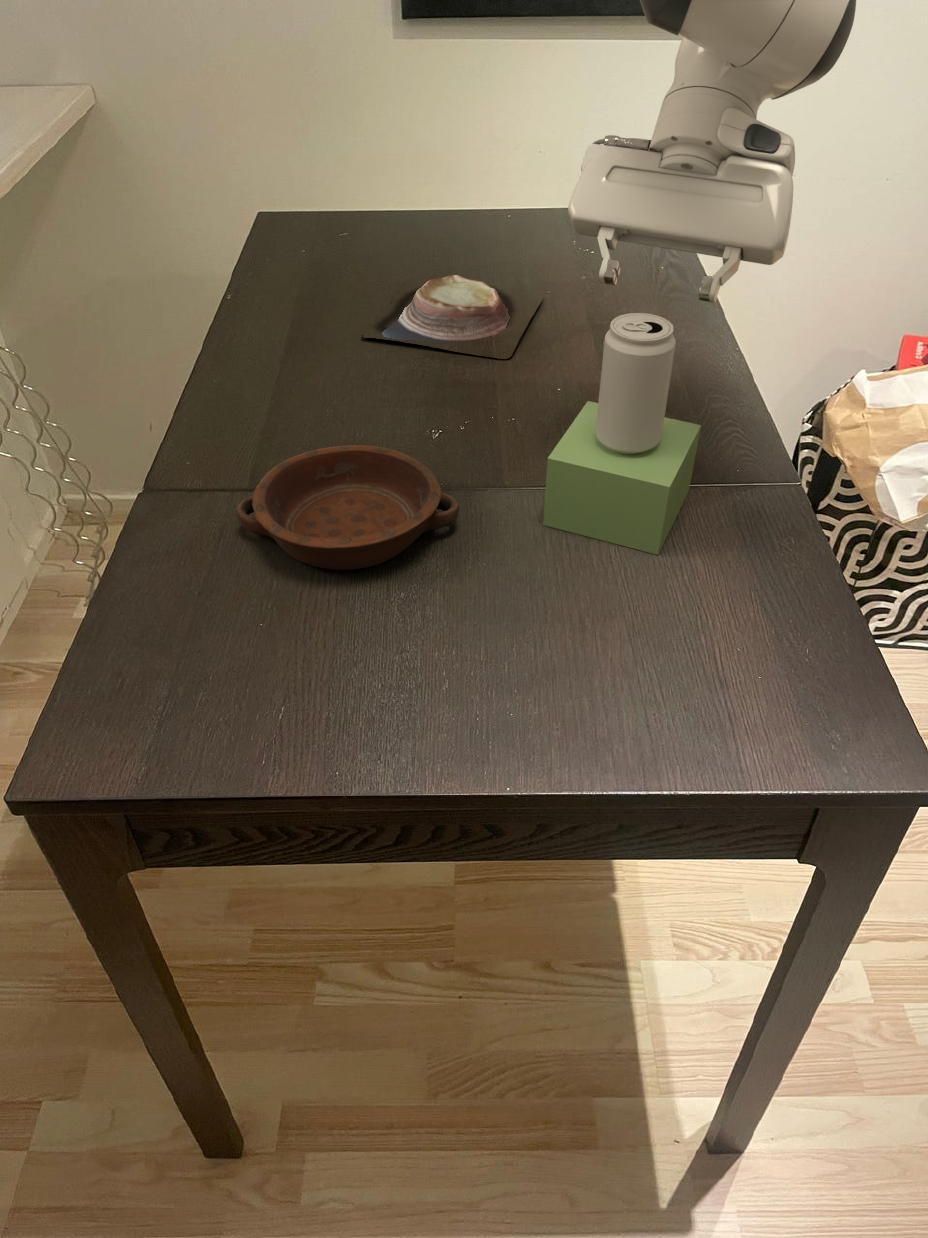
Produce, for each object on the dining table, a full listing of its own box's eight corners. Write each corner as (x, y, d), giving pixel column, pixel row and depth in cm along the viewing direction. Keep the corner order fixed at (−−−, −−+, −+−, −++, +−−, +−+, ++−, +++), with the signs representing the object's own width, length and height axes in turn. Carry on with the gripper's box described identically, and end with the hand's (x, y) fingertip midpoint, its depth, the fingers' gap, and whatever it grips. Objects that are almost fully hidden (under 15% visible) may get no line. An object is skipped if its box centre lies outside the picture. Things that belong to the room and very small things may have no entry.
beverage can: (664, 458, 91) (683, 341, 83) (597, 458, 91) (609, 340, 83) (655, 424, 96) (672, 309, 88) (591, 423, 96) (603, 309, 88)
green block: (688, 491, 101) (701, 424, 96) (658, 555, 93) (670, 486, 88) (581, 465, 105) (587, 400, 99) (543, 525, 97) (547, 457, 91)
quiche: (358, 340, 127) (356, 311, 125) (408, 281, 142) (407, 254, 139) (510, 361, 123) (511, 332, 120) (545, 298, 137) (547, 271, 135)
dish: (463, 583, 90) (463, 541, 86) (227, 591, 89) (218, 549, 86) (455, 479, 103) (455, 439, 99) (249, 485, 102) (242, 445, 99)
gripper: (586, 113, 88) (542, 256, 88) (812, 140, 82) (766, 294, 82) (596, 151, 94) (556, 285, 94) (808, 179, 88) (765, 323, 88)
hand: (655, 290), depth 88 cm, fingers open, 8 cm apart
